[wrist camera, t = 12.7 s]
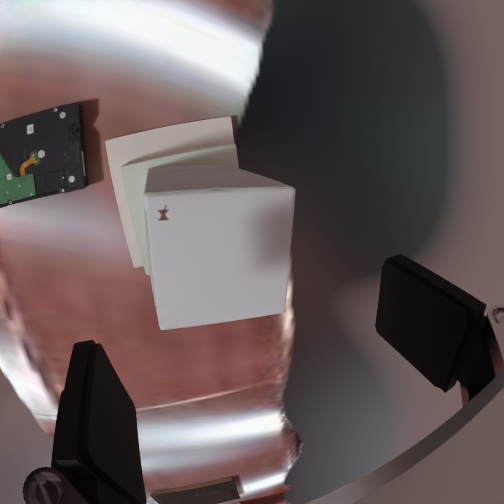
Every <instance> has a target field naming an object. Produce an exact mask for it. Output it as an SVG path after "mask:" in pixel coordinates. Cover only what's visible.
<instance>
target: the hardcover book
mask: <svg viewBox="0 0 504 504" xmlns="http://www.w3.org/2000/svg"><path fill="white" fill-rule="evenodd" d="M151 494H152V495H150V496H151V497H152V498H153V499H154V500H155V501H156V502H157V503H158V504H218V503H223V502H227V501H231V500H236V499H240V496H239V493H238V491H237V488H236V485H235V483H234V480H232V477H228V478H224V479H220V480H216V481H211V482H206V483H202V484H196V485H191V486H185V487H179V488H173V489H166V490H158V491H151Z"/></svg>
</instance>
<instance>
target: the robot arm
mask: <svg viewBox="0 0 504 504" xmlns="http://www.w3.org/2000/svg"><path fill="white" fill-rule="evenodd" d="M485 308H486V304H484V303H482V302H481V301H480V300H478V299H476V298H475V297H473V296H472V295H470V294H468V293H467V292H465V291H464V290H462V289H460V288H459V287H457V286H455V285H454V284H452V283H450V282H449V281H447V280H445V279H444V278H442V277H440V276H439V275H437V274H435V273H434V272H432V271H430V270H428V269H426V268H425V267H423V266H421V265H420V264H418V263H416V262H414V261H413V260H411V259H409V258H407V257H406V256H404V255H401V254H398V255H395V256H393V257H390V258H387V259H386V260H385V262H384V265H383V266H382V273H381V283H380V293H379V302H378V309H377V317H376V325H375V327H376V331H377V332H378V334H379V335H380V336H381V337H382V338H384V339H385V340H386V341H387V342H388V343H389V344H390V345H391V346H392V347H393V348H394V349H396V350H397V351H398V352H399V353H400V354H401V355H402V356H403V357H404V358H405V359H406V360H408V361H409V362H410V363H411V364H412V365H413V366H414V367H415V368H416V369H417V370H418V371H419V372H420V373H422V374H423V376H425V377H426V378H427V379H428V380H429V381H430V382H431V383H432V384H433V385H434V386H436V387H438V388H441V389H442V390H443V391H444V392H445V393H446V392H447V391H448V390H449V389H451V388H452V387H453V386H455V384H456V382H457V380H458V381H459V382H460V388H461V395H462V405H463V408H462V409H461V410H460V411H458V412H457V413H456V414H455V415H453V416H452V417H451V418H450V419H449V420H447V421H446V422H445V423H443V424H442V425H441V426H440V427H438V428H437V429H436V430H435V431H433V432H432V433H431V434H429V435H428V436H426V437H425V438H424V439H422V440H421V441H419V442H418V443H417V444H415V445H414V446H412V447H411V448H409V449H408V450H406V451H405V452H403V453H402V454H400V455H399V456H397V457H396V458H394V459H393V460H391V461H389V462H387V463H386V464H384V465H382V466H381V467H379V468H377V469H376V470H374V471H372V472H370V473H369V474H367V475H365V476H363V477H361V478H359V479H358V480H356V481H354V482H352V483H350V484H348V485H346V486H344V487H342V488H340V489H338V490H336V491H334V492H331V493H329V494H327V495H325V496H323V497H320V498H318V499H316V500H313V501H311V502H309V503H306V504H504V305H495V306H492V307H491V308H490V309H489V310H488V314H487V317H486V316H484V315H483V314H484V311H485ZM23 498H24V501H25V503H26V504H146V494H145V488H144V481H143V475H142V467H141V459H140V451H139V441H138V431H137V419H136V410H135V406H134V403H133V401H132V400H131V398H130V396H129V395H128V393H127V391H126V390H125V388H124V386H123V384H122V383H121V381H120V379H119V377H118V375H117V374H116V372H115V370H114V368H113V366H112V364H111V362H110V361H109V359H108V357H107V355H106V353H105V351H104V349H103V347H102V345H101V344H100V343H98V344H96V343H95V342H94V341H93V340H88V341H83V342H78V343H75V344H74V346H73V351H72V355H71V359H70V363H69V368H68V373H67V378H66V383H65V388H64V390H63V391H62V393H61V396H60V401H59V407H58V413H57V420H56V426H55V434H54V442H53V453H52V463H51V467H41V468H38V469H36V470H34V471H32V472H31V473H30V474H29V475H28V476H27V478H26V480H25V482H24V484H23Z"/></svg>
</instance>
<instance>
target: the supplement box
mask: <svg viewBox="0 0 504 504" xmlns="http://www.w3.org/2000/svg"><path fill="white" fill-rule="evenodd" d="M295 192H296V191H295V188H293V187H291V186H289V185H286V184H284V183H281V182H278V181H276V180H273V179H270V178H267V177H264V176H261V175H257V174H254V173H251V172H248V171H245V170H241V169H238V168H236V167H233V166H230V165H195V166H176V167H162V168H149V169H148V172H147V177H146V183H145V188H144V194H143V199H144V219H145V234H146V244H147V254H148V262H149V269H150V276H151V283H152V289H153V295H154V300H155V305H156V311H157V316H158V321H159V326H160V329H161V330H167V329H175V328H183V327H191V326H198V325H206V324H213V323H221V322H228V321H234V320H241V319H247V318H254V317H260V316H267V315H272V314H279V313H283V312H285V304H286V293H287V281H288V269H289V256H290V247H291V236H292V226H293V214H294V203H295Z"/></svg>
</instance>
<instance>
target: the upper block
mask: <svg viewBox="0 0 504 504" xmlns="http://www.w3.org/2000/svg"><path fill="white" fill-rule="evenodd" d="M195 165H230V166H233V167H236V168H238V169H239V165H238V158H237V150H236V144H218V145H212V146H206V147H201V148H195V149H190V150H184V151H179V152H174V153H169V154H164V155H160V156H155V157H150V158H146V159H142V160H137V161H133V162H129V163H126V164H124V165H123V166H121V173H122V178H123V183H124V187H125V192H126V197H127V201H128V206H129V210H130V215H131V219H132V223H133V227H134V231H135V235H136V239H137V243H138V247H139V250H140V254H141V258H142V261H143V265H144V268H145V272H146V275H149V274H150V269H149V262H148V254H147V244H146V234H145V219H144V199H143V194H144V188H145V183H146V177H147V172H148V169H149V168H162V167H176V166H195Z"/></svg>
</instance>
